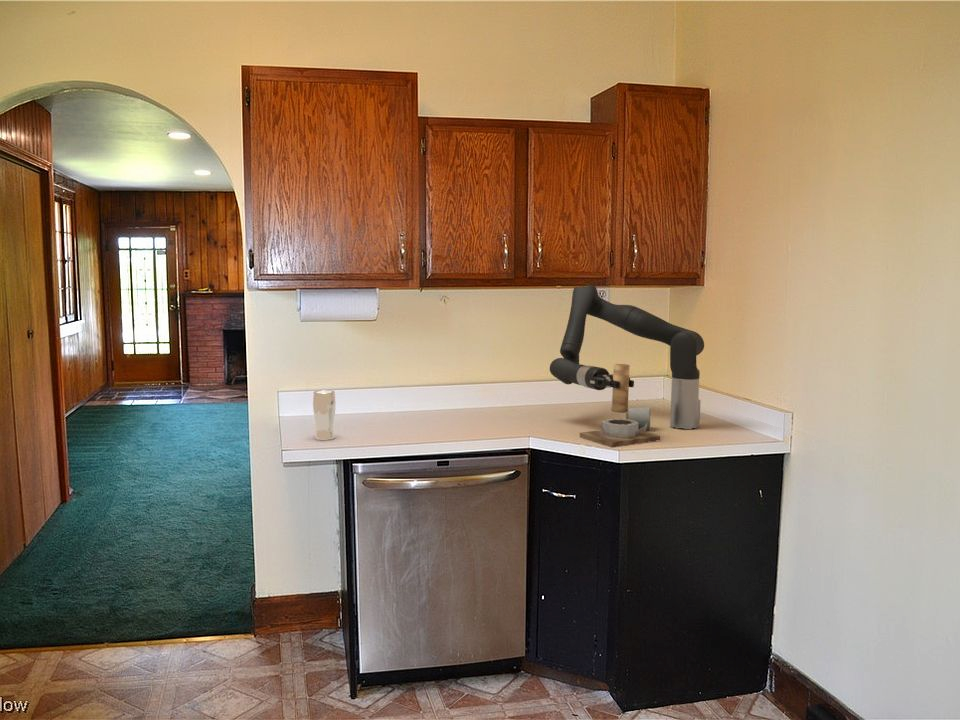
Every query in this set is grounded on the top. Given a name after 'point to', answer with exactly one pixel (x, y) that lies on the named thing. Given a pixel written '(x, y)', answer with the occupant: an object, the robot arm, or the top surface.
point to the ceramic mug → (640, 417)
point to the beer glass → (324, 414)
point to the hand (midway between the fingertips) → (626, 384)
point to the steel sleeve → (620, 428)
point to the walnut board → (613, 442)
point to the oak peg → (622, 393)
